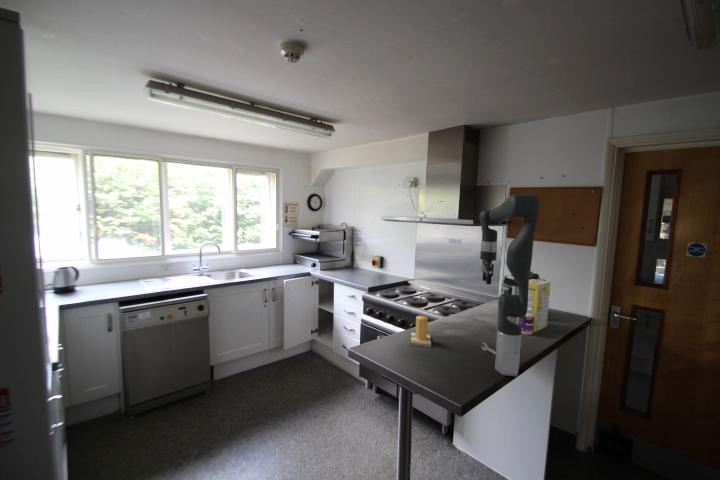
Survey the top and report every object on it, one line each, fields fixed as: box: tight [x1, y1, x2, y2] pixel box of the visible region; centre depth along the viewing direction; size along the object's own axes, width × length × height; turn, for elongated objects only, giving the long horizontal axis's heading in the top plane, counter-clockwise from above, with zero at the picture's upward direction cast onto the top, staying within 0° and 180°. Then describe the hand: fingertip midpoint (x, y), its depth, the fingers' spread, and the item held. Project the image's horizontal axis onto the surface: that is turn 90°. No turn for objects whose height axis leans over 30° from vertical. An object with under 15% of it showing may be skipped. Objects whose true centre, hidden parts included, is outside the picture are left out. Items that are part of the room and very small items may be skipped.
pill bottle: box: [518, 308, 534, 336], centre depth 182 cm, size 8×8×14 cm
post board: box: [410, 332, 432, 348], centre depth 164 cm, size 14×10×8 cm
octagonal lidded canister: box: [414, 315, 429, 340], centre depth 164 cm, size 6×6×11 cm
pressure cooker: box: [499, 270, 547, 296], centre depth 219 cm, size 30×28×32 cm
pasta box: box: [516, 279, 551, 333], centre depth 193 cm, size 18×10×28 cm, turn 129°
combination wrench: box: [481, 342, 496, 356], centre depth 149 cm, size 4×1×20 cm
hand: (486, 282), depth 158 cm, fingers open, 8 cm apart
